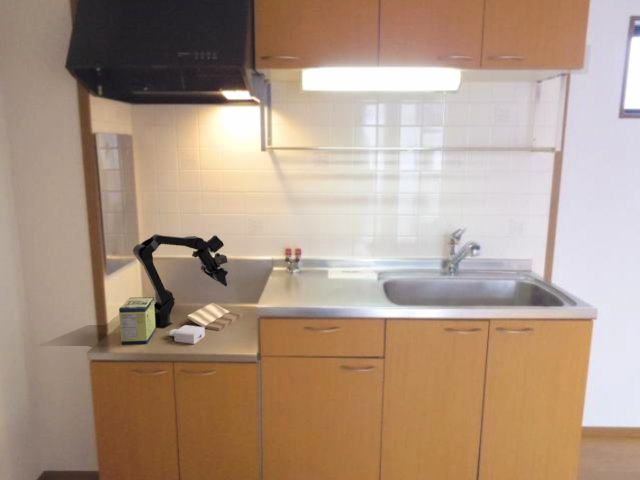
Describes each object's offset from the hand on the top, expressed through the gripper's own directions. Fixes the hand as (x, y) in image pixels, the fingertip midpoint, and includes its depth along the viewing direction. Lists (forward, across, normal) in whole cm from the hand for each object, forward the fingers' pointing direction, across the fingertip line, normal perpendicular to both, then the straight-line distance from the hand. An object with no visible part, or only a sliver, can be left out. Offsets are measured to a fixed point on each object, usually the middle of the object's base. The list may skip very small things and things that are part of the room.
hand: (222, 283), depth 229 cm
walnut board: (+9, -15, +12) cm, 22 cm away
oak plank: (+5, -8, +16) cm, 18 cm away
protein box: (-10, -10, +45) cm, 47 cm away
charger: (-2, -22, +32) cm, 39 cm away
